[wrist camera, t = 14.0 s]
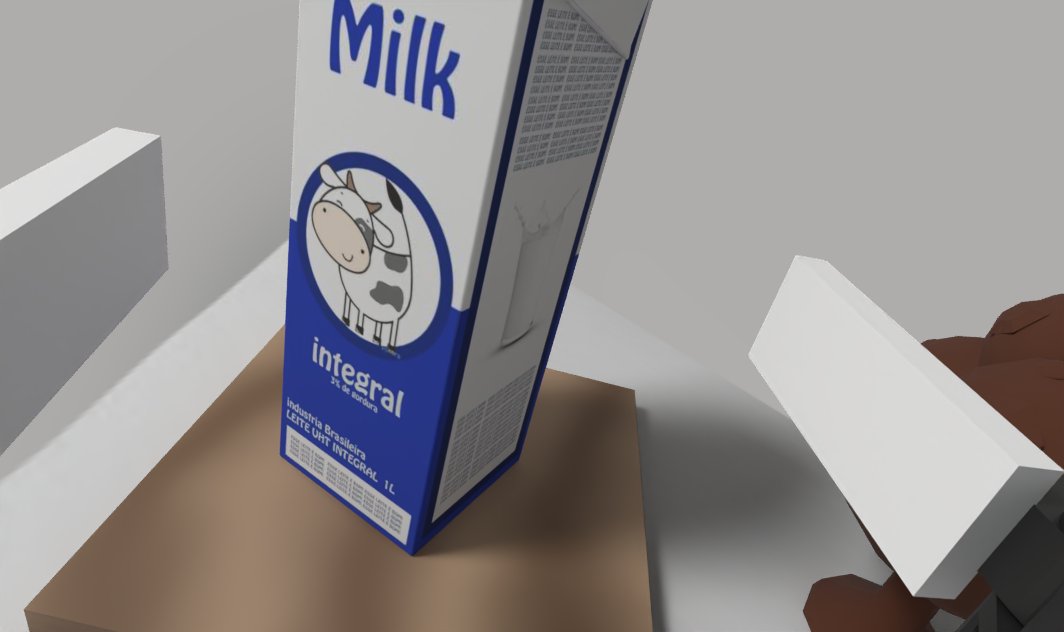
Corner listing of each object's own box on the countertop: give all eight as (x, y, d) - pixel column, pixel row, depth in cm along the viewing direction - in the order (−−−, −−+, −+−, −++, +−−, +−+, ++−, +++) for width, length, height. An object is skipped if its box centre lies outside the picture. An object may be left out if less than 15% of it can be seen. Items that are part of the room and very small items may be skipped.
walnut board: (627, 407, 34) (634, 390, 33) (648, 782, 18) (662, 760, 18) (299, 325, 34) (301, 306, 33) (31, 636, 18) (24, 609, 17)
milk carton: (523, 462, 27) (684, -83, 17) (415, 560, 21) (563, -153, 12) (398, 383, 29) (477, -128, 20) (275, 453, 24) (301, -200, 14)
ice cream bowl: (735, 495, 30) (895, 197, 23) (982, 591, 28) (1241, 301, 21) (729, 707, 21) (993, 320, 13) (1094, 870, 19) (1623, 525, 12)
